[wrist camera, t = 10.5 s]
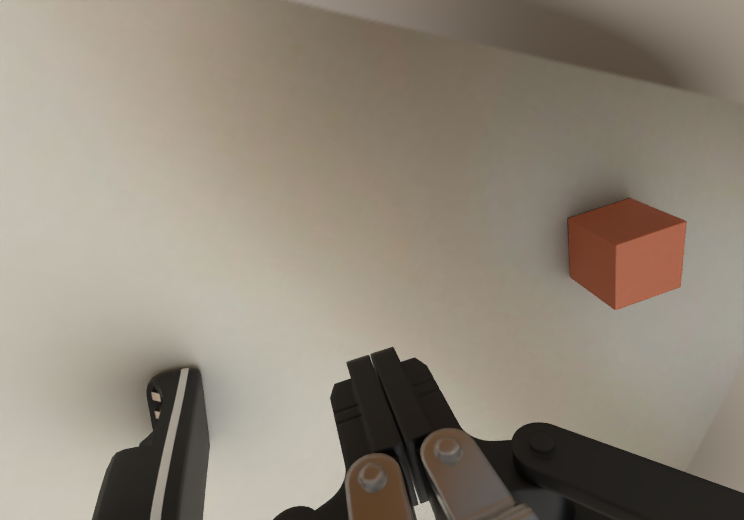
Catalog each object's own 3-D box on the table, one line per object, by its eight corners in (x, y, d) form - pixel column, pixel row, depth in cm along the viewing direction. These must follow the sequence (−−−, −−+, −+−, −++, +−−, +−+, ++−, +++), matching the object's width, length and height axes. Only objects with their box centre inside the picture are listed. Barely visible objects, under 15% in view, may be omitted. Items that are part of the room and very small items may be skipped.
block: (567, 217, 30) (616, 245, 26) (630, 197, 31) (687, 220, 27) (569, 277, 33) (615, 310, 28) (628, 257, 33) (681, 287, 29)
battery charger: (132, 367, 28) (65, 554, 18) (200, 361, 29) (173, 535, 18) (150, 454, 31) (100, 658, 20) (211, 446, 31) (192, 637, 21)
